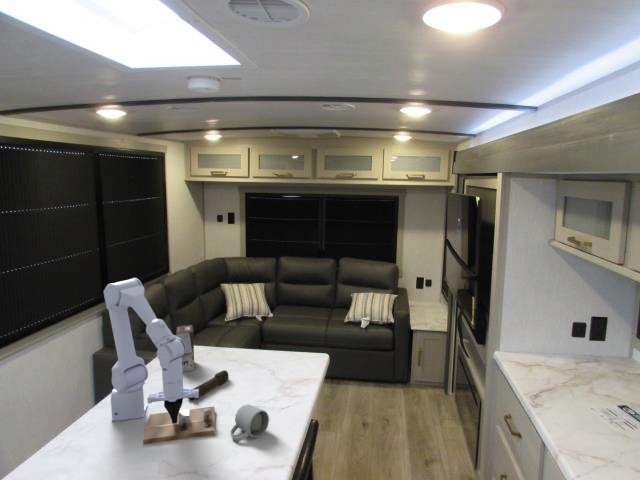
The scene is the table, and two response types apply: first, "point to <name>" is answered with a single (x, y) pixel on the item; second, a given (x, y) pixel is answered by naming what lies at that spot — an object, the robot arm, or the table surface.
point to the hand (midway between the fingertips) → (174, 421)
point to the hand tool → (212, 383)
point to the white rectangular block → (184, 417)
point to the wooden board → (165, 431)
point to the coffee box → (187, 346)
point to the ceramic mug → (250, 422)
